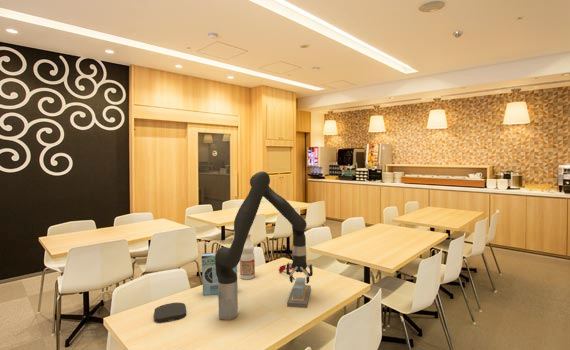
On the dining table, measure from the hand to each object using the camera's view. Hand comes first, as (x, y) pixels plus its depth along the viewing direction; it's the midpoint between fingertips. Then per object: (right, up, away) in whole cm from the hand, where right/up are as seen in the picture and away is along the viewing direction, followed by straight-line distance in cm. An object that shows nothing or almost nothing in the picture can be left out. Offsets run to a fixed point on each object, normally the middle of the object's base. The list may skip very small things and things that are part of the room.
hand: (299, 282), depth 174 cm
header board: (0, -8, +1) cm, 8 cm away
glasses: (-2, -7, +37) cm, 37 cm away
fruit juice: (-32, -7, +32) cm, 46 cm away
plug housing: (0, -6, +4) cm, 7 cm away
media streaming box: (-65, -11, -16) cm, 68 cm away
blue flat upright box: (-45, -9, +8) cm, 47 cm away
